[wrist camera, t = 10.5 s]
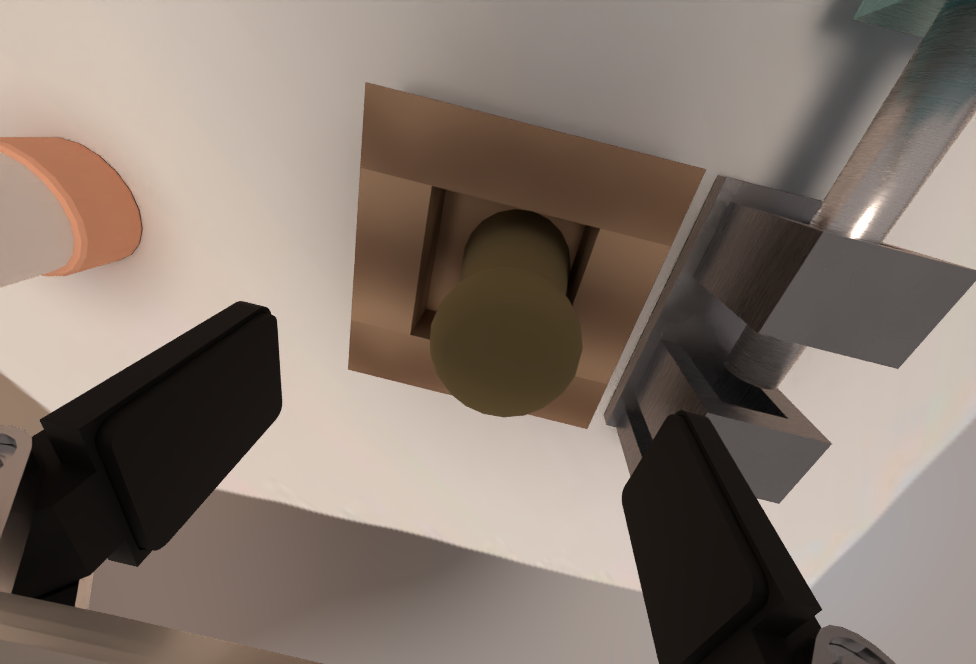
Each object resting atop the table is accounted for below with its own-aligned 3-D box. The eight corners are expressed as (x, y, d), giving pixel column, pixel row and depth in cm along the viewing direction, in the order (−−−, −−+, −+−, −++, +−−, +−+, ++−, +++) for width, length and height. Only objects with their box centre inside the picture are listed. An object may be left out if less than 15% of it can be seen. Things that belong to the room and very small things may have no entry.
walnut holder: (400, 93, 19) (365, 82, 15) (670, 162, 19) (706, 169, 15) (377, 333, 26) (348, 369, 22) (578, 383, 26) (587, 429, 22)
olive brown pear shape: (591, 276, 21) (641, 393, 11) (505, 331, 23) (484, 469, 14) (528, 184, 19) (524, 229, 10) (441, 253, 22) (364, 348, 12)
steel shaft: (911, -91, 13) (1111, -213, 8) (1053, -54, 13) (1326, -155, 8) (682, 338, 21) (722, 392, 16) (770, 360, 21) (835, 420, 16)
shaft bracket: (717, 175, 19) (821, 196, 12) (851, 209, 19) (1029, 248, 12) (603, 415, 27) (628, 512, 20) (700, 439, 27) (759, 544, 20)
